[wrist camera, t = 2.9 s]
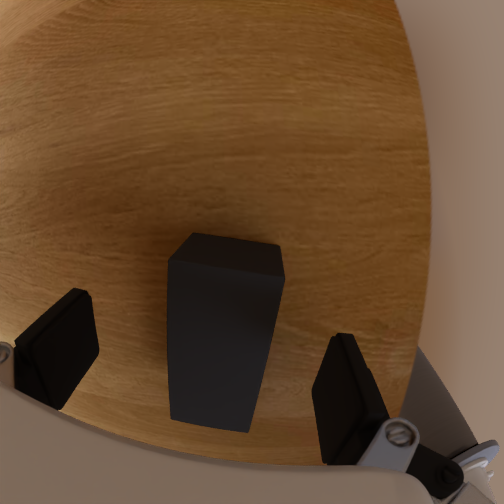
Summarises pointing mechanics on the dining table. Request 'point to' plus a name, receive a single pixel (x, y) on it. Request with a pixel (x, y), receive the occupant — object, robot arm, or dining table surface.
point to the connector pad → (220, 328)
